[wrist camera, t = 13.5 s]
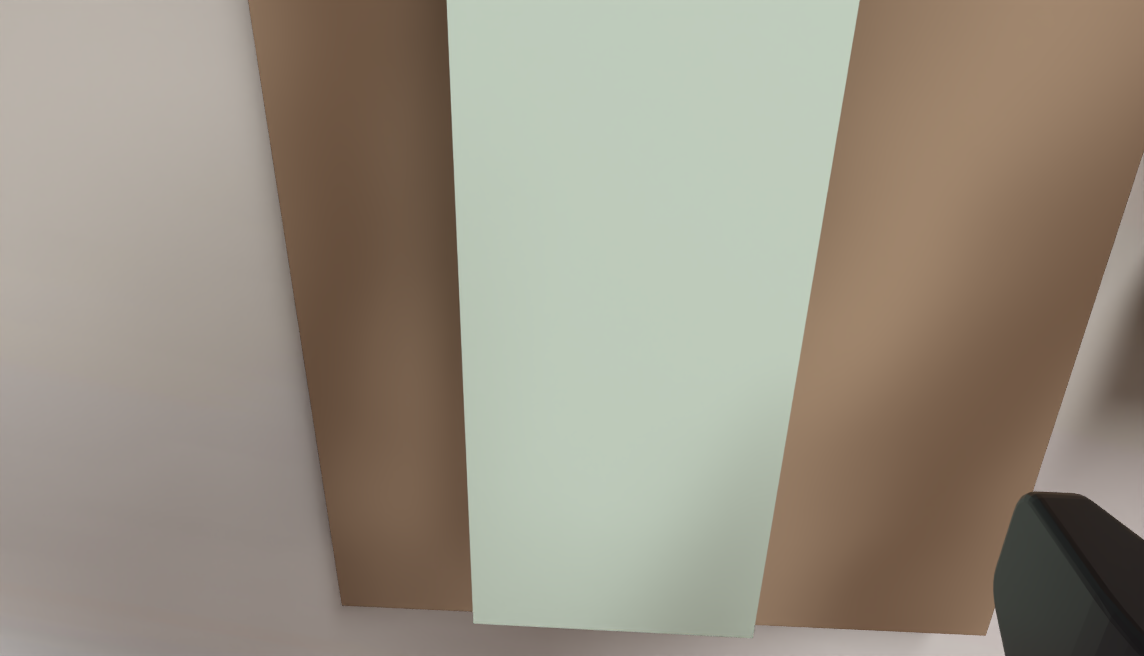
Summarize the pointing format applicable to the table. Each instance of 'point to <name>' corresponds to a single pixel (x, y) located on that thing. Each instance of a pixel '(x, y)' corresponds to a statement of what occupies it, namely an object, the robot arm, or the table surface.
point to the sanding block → (635, 295)
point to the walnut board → (835, 312)
